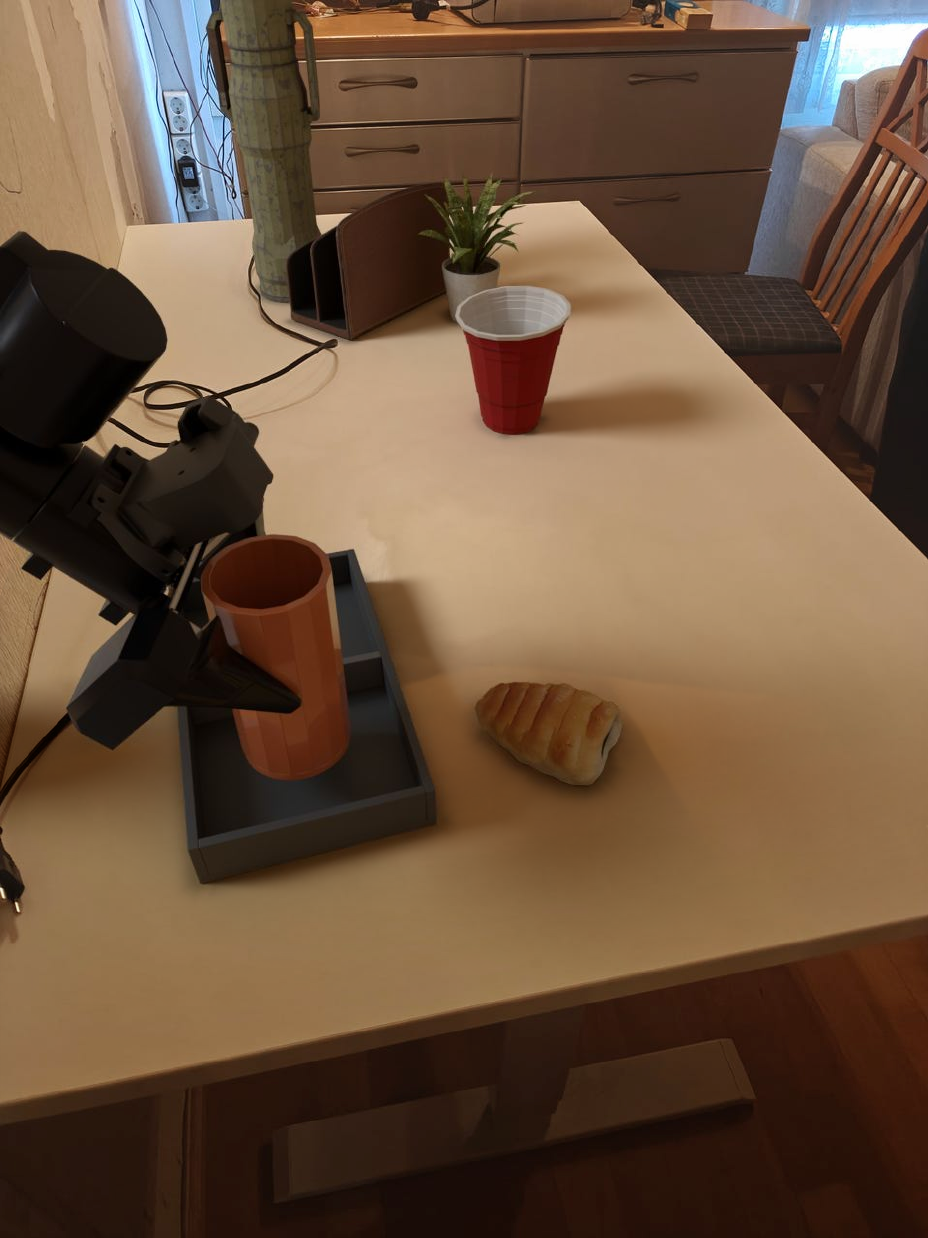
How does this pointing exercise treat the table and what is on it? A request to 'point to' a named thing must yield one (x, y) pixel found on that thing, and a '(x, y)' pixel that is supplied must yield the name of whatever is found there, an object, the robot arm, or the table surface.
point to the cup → (284, 649)
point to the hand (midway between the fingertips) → (306, 662)
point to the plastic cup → (512, 351)
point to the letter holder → (371, 264)
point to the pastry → (552, 727)
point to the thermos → (270, 125)
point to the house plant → (472, 241)
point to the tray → (323, 804)
